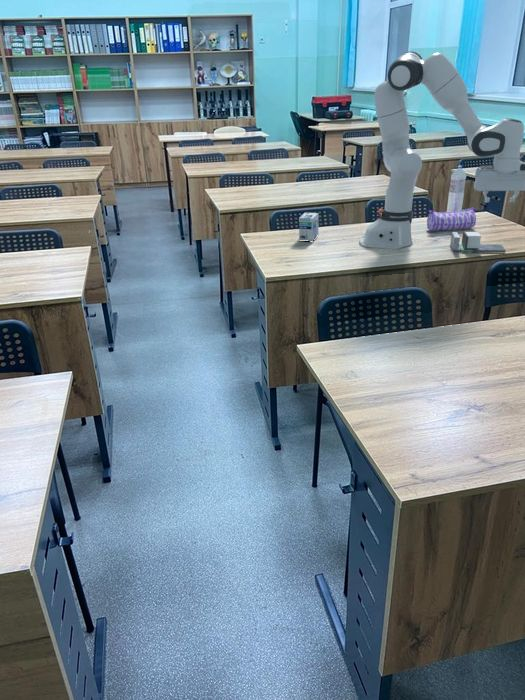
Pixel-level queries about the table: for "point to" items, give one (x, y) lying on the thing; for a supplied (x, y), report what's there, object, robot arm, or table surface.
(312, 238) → the light bulb box
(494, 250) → the rail
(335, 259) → the table surface
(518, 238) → the table surface
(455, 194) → the water bottle
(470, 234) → the white cube on plate
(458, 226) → the pencil case
